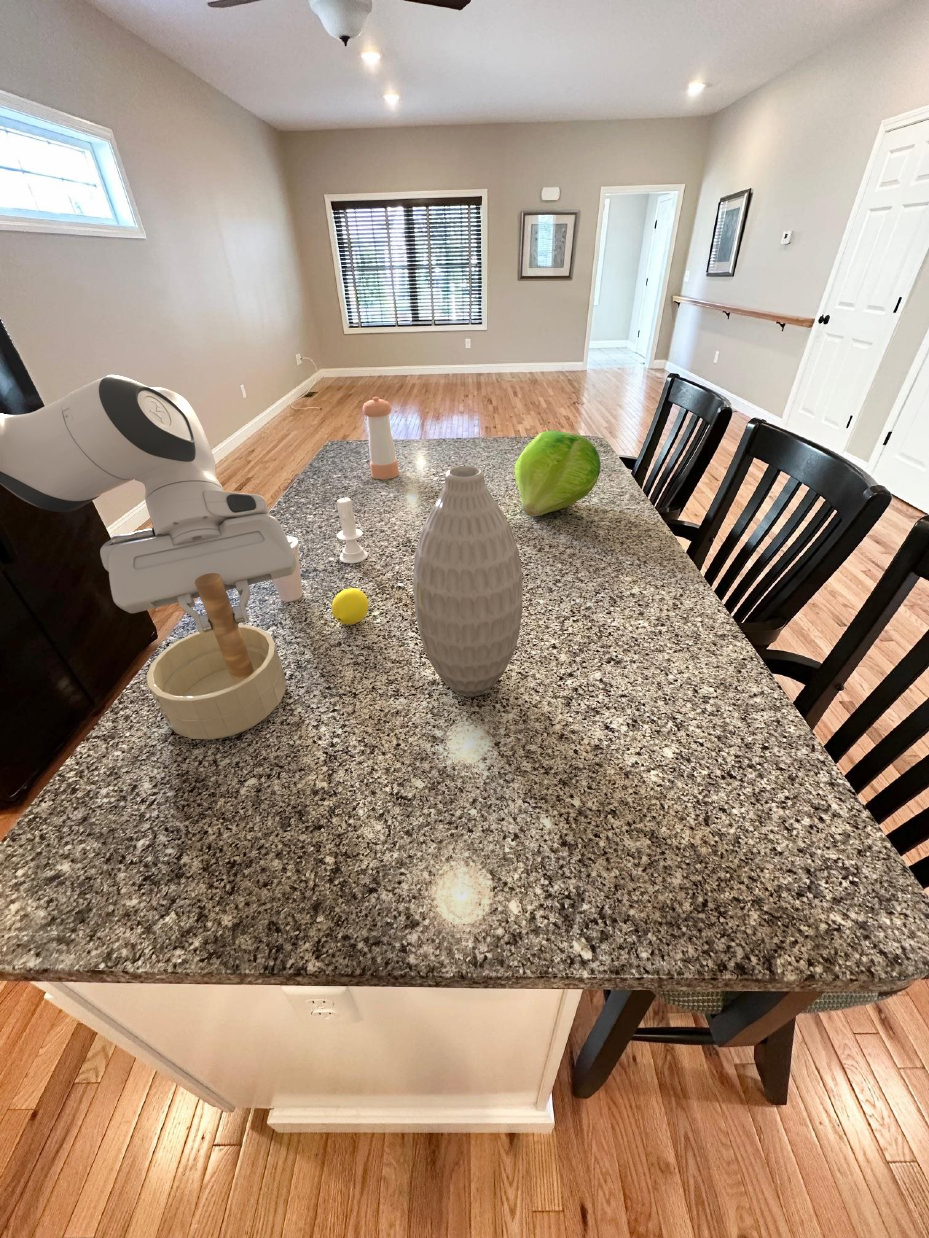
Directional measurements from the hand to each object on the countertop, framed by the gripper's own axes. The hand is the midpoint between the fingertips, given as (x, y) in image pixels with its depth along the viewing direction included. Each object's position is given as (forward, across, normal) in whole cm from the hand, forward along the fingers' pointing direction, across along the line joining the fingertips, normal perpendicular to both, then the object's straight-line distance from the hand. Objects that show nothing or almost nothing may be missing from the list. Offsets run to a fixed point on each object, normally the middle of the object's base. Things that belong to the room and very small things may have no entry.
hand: (224, 626), depth 61 cm
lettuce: (-14, +69, +30) cm, 76 cm away
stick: (+5, 0, +6) cm, 8 cm away
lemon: (+1, +17, +14) cm, 22 cm away
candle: (-13, +23, +29) cm, 39 cm away
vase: (+16, +27, -1) cm, 31 cm away
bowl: (+8, -2, +7) cm, 11 cm away
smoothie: (-8, +10, +23) cm, 26 cm away
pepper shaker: (-42, +43, +58) cm, 84 cm away
